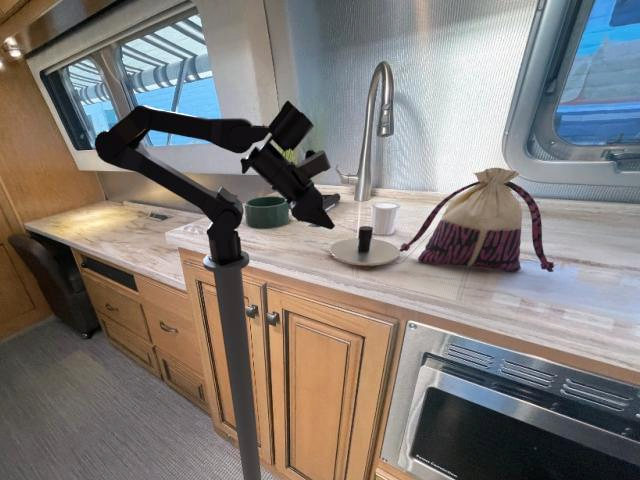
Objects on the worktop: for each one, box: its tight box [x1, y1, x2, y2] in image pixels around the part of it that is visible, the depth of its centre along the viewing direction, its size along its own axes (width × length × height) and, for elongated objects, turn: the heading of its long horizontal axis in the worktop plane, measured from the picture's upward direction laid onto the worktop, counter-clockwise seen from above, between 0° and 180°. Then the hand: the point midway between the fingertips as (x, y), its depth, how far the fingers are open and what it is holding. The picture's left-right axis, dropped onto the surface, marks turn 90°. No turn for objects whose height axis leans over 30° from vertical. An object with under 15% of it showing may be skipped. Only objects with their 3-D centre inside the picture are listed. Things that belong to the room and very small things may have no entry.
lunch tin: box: [244, 195, 290, 229], centre depth 98 cm, size 14×14×6 cm
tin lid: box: [329, 225, 400, 266], centre depth 69 cm, size 15×15×6 cm
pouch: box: [398, 167, 555, 273], centre depth 58 cm, size 25×8×19 cm, turn 63°
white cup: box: [370, 201, 401, 236], centre depth 81 cm, size 7×7×7 cm
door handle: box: [289, 193, 342, 212], centre depth 109 cm, size 3×20×16 cm
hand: (329, 220), depth 67 cm, fingers open, 9 cm apart
